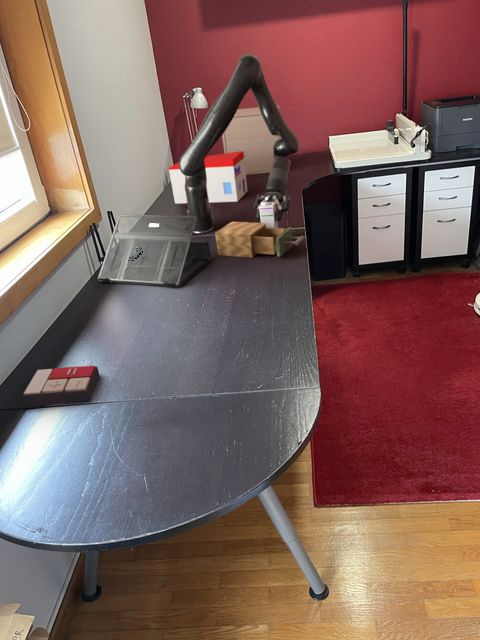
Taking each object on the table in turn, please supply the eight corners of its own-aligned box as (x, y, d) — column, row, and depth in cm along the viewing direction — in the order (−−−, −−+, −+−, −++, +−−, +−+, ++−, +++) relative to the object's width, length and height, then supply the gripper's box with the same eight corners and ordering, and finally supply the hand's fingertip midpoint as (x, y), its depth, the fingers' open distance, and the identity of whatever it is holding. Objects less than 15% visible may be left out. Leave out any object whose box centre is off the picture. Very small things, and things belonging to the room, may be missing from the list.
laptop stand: (96, 283, 181) (82, 233, 172) (138, 255, 203) (128, 209, 194) (177, 289, 170) (167, 236, 161) (212, 258, 192) (205, 210, 183)
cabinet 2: (267, 245, 199) (265, 223, 195) (252, 257, 189) (250, 234, 184) (234, 242, 205) (232, 221, 201) (218, 255, 195) (215, 232, 190)
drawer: (308, 246, 191) (307, 228, 188) (295, 258, 182) (294, 239, 178) (261, 242, 199) (259, 225, 196) (246, 254, 190) (244, 236, 186)
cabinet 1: (226, 176, 315) (219, 116, 298) (231, 166, 340) (224, 110, 323) (282, 171, 312) (278, 110, 295) (283, 162, 337) (279, 105, 320)
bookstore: (238, 201, 260) (233, 159, 250) (175, 203, 269) (167, 162, 258) (248, 191, 278) (243, 150, 267) (188, 193, 286) (182, 154, 275)
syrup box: (276, 242, 201) (273, 205, 194) (262, 242, 203) (258, 206, 195) (279, 237, 206) (276, 201, 199) (265, 237, 207) (261, 202, 200)
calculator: (86, 388, 116) (20, 393, 116) (90, 403, 118) (25, 408, 118) (97, 363, 125) (36, 367, 125) (100, 377, 128) (40, 381, 127)
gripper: (257, 177, 201) (248, 214, 199) (290, 177, 196) (281, 215, 193) (264, 187, 208) (255, 223, 205) (296, 188, 202) (287, 225, 200)
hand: (267, 219), depth 199 cm, fingers open, 8 cm apart
